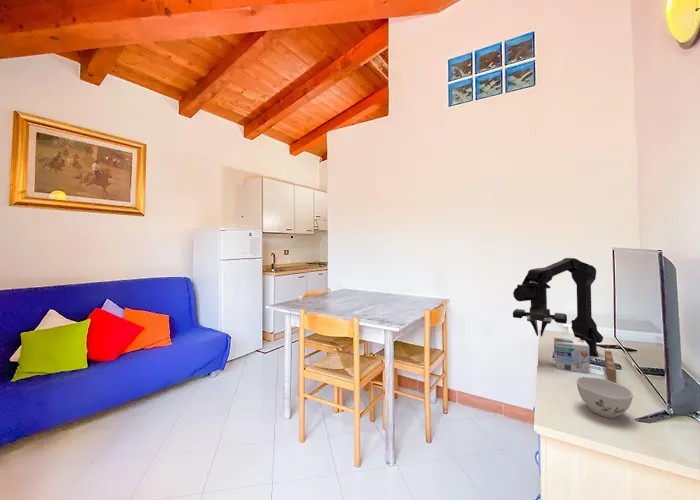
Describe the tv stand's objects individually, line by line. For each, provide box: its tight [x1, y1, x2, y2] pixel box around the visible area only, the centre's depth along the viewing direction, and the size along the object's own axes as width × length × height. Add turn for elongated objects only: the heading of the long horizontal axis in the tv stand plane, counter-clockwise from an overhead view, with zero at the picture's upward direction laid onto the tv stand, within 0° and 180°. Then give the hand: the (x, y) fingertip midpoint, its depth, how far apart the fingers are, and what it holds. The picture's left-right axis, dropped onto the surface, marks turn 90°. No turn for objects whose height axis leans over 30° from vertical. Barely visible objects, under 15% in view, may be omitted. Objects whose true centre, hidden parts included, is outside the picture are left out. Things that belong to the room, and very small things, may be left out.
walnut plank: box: [604, 350, 617, 383], centre depth 107 cm, size 20×2×6 cm, turn 141°
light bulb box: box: [553, 337, 590, 374], centre depth 114 cm, size 11×7×11 cm, turn 62°
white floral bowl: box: [576, 376, 634, 419], centre depth 86 cm, size 15×12×8 cm
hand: (539, 335), depth 121 cm, fingers closed
